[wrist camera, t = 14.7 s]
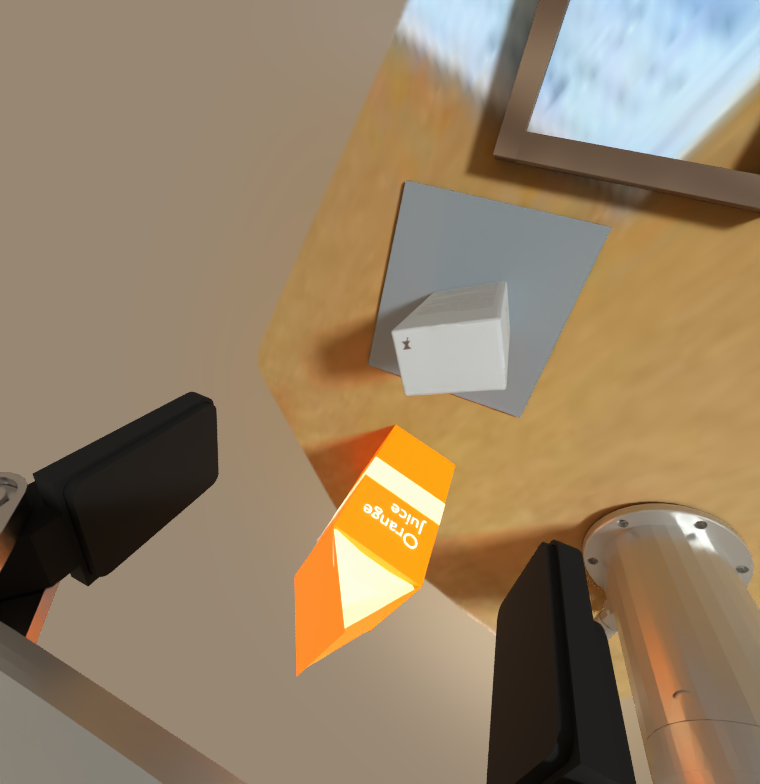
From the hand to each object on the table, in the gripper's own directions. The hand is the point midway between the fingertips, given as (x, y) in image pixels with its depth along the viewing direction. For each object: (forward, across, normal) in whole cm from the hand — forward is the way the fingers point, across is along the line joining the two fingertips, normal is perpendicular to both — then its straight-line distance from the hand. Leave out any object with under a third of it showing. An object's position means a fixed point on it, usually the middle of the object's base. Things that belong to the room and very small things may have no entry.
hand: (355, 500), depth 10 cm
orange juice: (+24, +1, +19) cm, 31 cm away
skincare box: (+24, 0, 0) cm, 24 cm away
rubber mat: (+24, 0, 0) cm, 24 cm away
